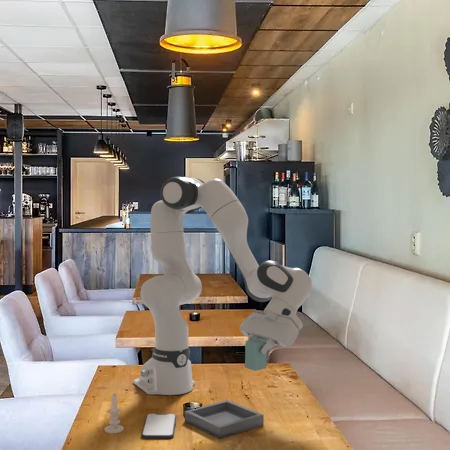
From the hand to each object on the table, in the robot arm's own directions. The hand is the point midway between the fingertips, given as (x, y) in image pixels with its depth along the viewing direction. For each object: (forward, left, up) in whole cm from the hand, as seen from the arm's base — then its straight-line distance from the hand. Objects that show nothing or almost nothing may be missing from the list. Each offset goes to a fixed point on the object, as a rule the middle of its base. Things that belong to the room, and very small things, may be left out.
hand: (254, 350), depth 179 cm
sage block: (0, +1, -5) cm, 5 cm away
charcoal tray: (0, -12, -19) cm, 22 cm away
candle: (-15, -39, -19) cm, 46 cm away
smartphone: (-8, -28, -20) cm, 35 cm away
